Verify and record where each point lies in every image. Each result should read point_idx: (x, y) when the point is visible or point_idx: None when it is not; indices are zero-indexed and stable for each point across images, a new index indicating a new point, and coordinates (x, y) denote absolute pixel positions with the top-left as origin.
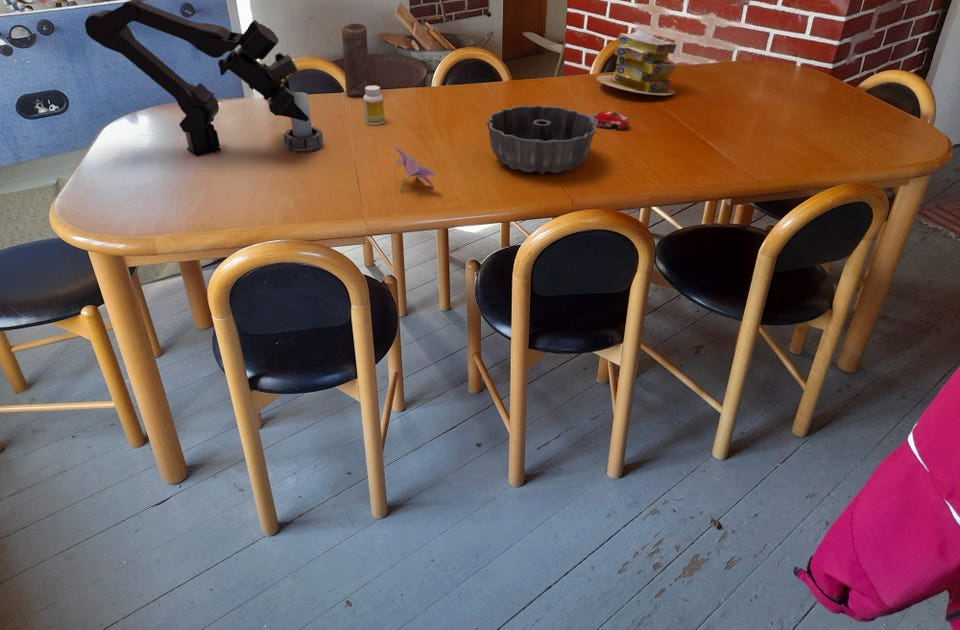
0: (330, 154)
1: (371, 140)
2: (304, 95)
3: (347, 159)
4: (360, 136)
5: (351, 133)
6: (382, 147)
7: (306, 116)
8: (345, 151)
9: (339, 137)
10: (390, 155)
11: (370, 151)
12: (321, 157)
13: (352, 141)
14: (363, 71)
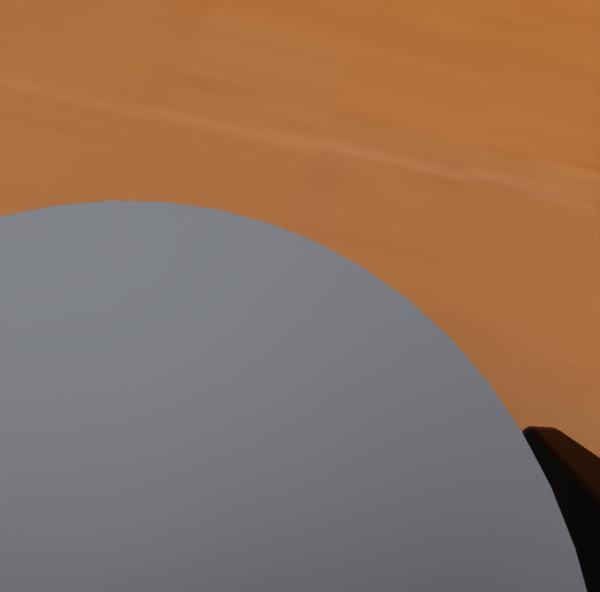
0: (475, 326)
1: (291, 26)
2: (280, 339)
3: (593, 239)
4: (187, 62)
5: (98, 97)
6: (433, 7)
7: (598, 468)
8: (442, 217)
9: (143, 190)
10: (571, 7)
11: (482, 81)
12: (520, 403)
13: (264, 130)
14: None
